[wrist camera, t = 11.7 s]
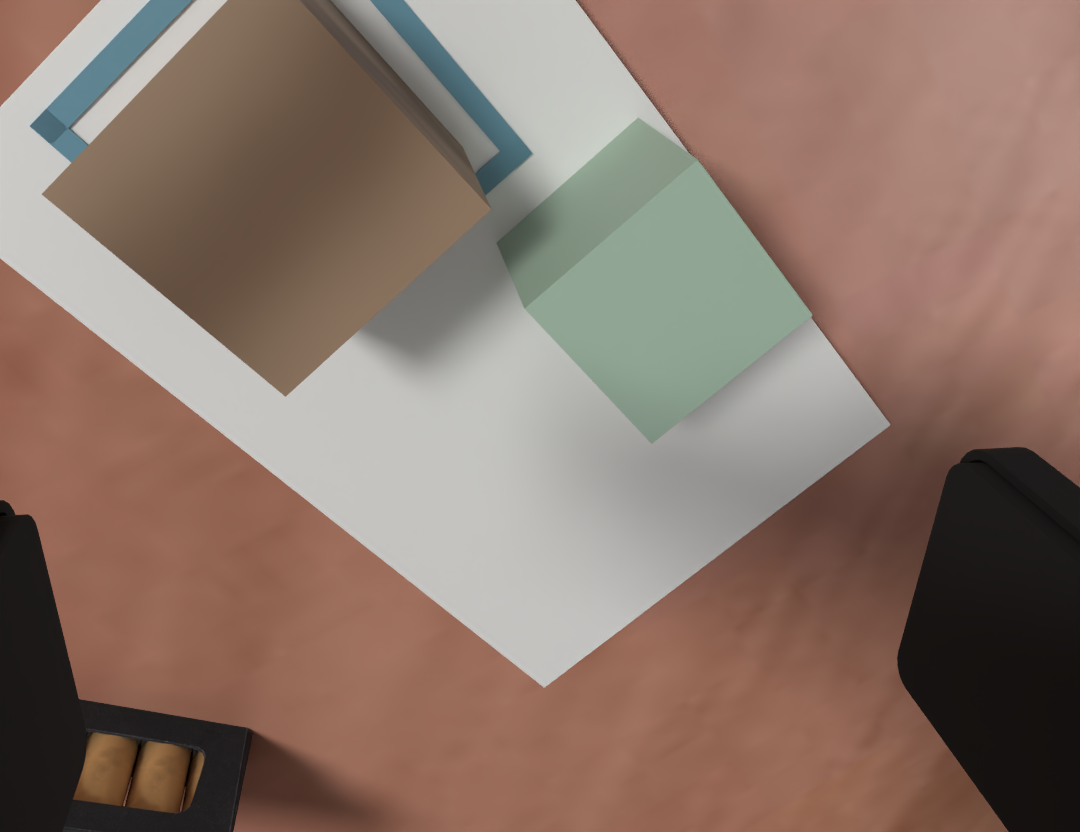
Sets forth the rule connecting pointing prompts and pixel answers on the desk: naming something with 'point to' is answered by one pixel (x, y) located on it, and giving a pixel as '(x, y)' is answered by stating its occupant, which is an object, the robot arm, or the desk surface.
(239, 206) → the walnut block
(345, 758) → the desk surface
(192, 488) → the desk surface
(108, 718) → the ammunition clip
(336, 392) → the building board
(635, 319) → the sage cube
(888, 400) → the desk surface
